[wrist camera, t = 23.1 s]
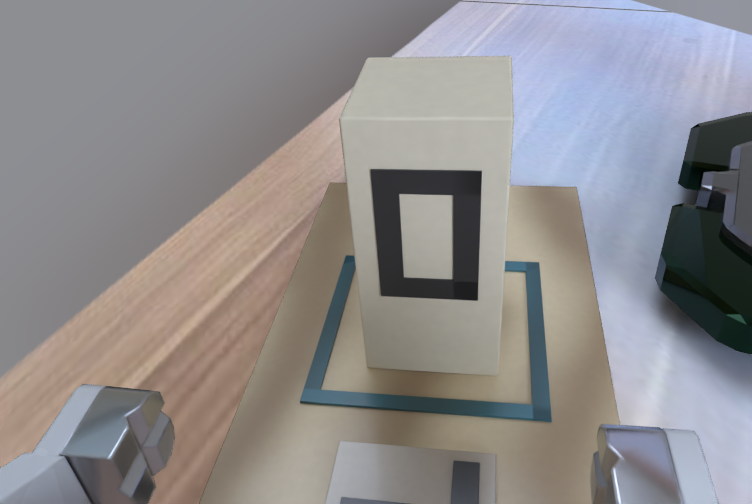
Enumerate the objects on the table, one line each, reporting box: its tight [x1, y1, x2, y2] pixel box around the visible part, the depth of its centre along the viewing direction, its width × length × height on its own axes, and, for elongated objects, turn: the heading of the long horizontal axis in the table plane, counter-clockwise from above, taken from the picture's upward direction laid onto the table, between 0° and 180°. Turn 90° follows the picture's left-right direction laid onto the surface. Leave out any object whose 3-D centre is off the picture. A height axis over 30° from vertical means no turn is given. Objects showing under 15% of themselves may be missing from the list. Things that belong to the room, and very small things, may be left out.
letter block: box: [339, 56, 514, 376], centre depth 23 cm, size 5×5×10 cm
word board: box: [199, 183, 620, 504], centre depth 25 cm, size 13×23×1 cm, turn 171°
